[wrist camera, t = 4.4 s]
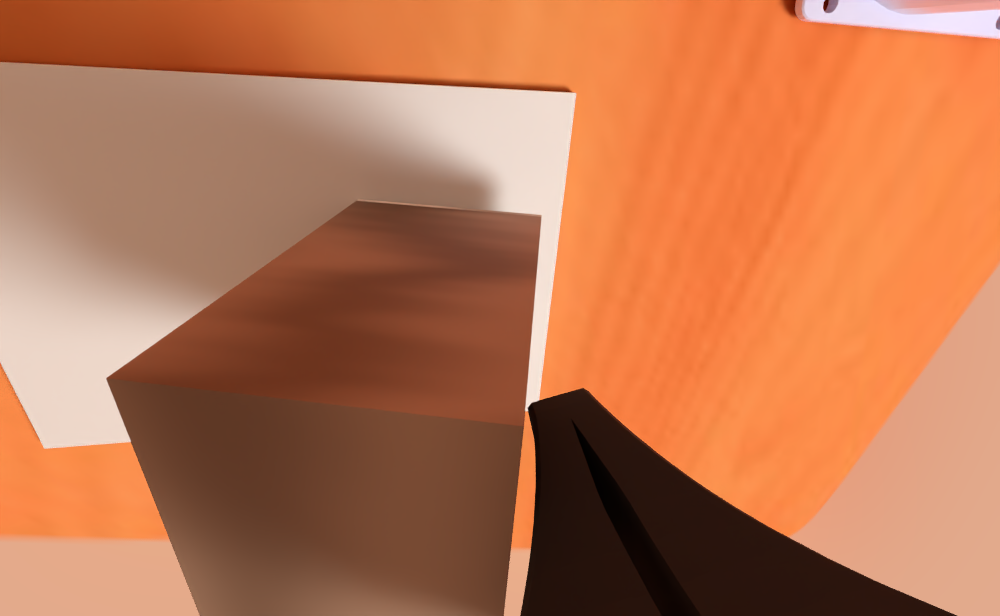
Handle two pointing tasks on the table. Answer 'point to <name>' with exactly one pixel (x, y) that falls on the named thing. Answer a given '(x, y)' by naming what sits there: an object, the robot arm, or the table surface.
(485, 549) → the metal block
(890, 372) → the table surface
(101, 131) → the mat
